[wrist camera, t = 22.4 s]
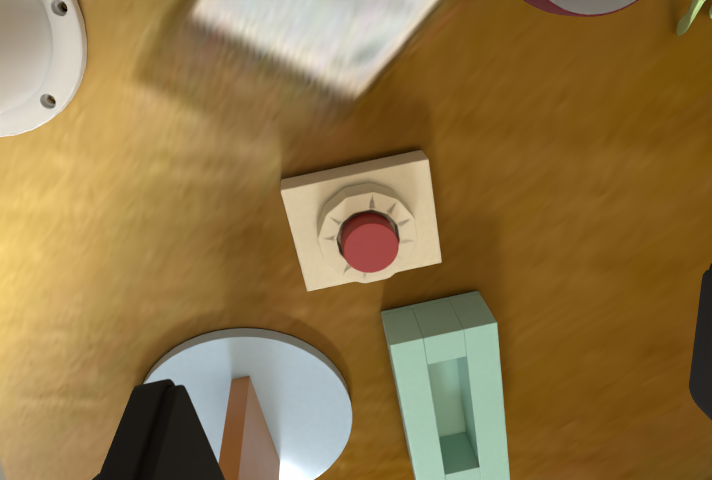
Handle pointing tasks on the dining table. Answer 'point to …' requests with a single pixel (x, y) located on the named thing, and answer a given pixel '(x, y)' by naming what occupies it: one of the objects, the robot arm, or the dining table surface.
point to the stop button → (369, 242)
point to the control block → (357, 196)
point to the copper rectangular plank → (247, 437)
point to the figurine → (690, 16)
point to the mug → (581, 6)
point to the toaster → (449, 387)
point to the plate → (267, 393)
